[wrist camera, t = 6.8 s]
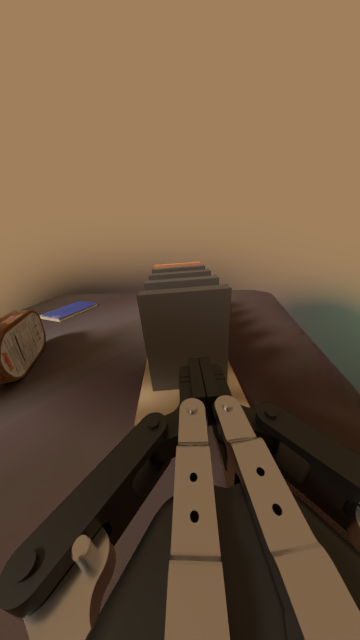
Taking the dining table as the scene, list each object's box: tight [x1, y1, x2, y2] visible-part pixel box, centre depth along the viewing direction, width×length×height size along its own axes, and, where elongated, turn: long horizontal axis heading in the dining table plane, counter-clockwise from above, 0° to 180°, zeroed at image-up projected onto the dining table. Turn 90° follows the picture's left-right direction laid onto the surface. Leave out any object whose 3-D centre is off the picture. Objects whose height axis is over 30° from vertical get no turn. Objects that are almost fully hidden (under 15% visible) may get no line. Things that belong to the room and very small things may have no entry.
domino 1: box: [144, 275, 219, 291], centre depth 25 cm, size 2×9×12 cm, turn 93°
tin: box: [0, 310, 46, 384], centre depth 29 cm, size 15×3×8 cm, turn 17°
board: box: [134, 359, 250, 426], centre depth 32 cm, size 30×12×1 cm, turn 3°
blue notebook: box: [40, 301, 98, 322], centre depth 54 cm, size 2×8×12 cm
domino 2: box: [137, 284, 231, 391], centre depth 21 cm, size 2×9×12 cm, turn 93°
